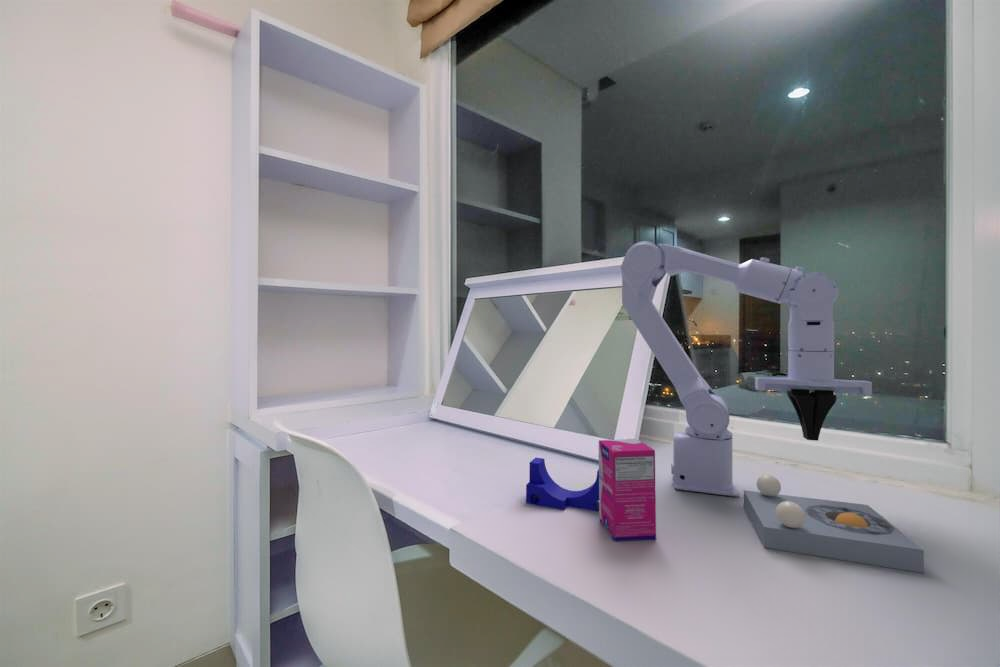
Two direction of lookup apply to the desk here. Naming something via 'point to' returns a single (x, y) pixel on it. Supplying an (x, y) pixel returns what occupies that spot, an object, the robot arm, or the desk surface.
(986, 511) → the desk surface
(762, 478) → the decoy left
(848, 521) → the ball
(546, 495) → the blue curved bracket
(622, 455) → the supplement box
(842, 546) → the grey socket plate
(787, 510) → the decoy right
